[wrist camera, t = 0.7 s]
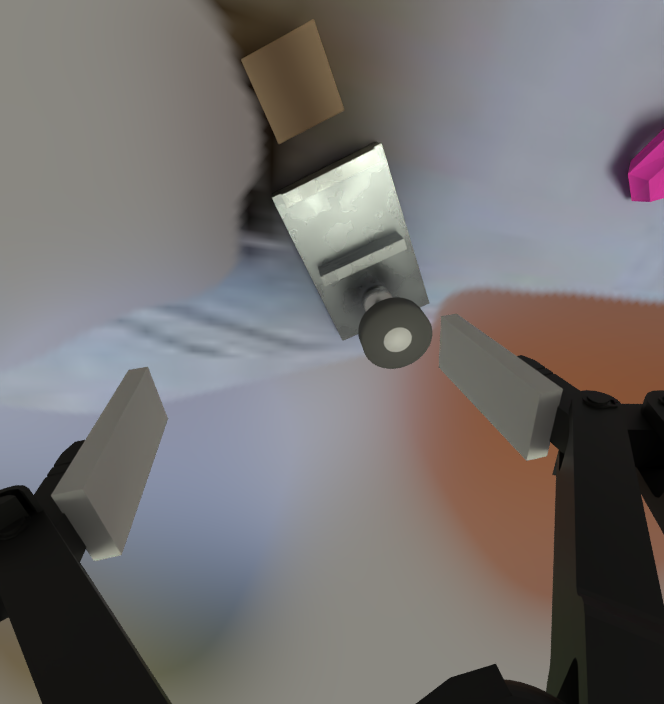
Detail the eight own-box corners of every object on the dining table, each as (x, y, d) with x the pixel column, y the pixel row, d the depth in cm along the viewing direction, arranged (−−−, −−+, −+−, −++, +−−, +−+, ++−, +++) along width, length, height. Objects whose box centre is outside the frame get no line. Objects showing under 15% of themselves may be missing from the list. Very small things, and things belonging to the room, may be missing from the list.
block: (307, 36, 27) (313, 18, 22) (333, 110, 30) (344, 110, 25) (247, 68, 27) (240, 59, 22) (278, 138, 30) (278, 144, 25)
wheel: (408, 279, 31) (422, 296, 29) (425, 332, 35) (439, 352, 32) (345, 307, 32) (352, 326, 29) (368, 356, 35) (376, 378, 33)
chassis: (374, 138, 31) (388, 142, 27) (423, 295, 40) (438, 314, 36) (270, 190, 32) (269, 201, 28) (340, 331, 41) (346, 353, 37)
